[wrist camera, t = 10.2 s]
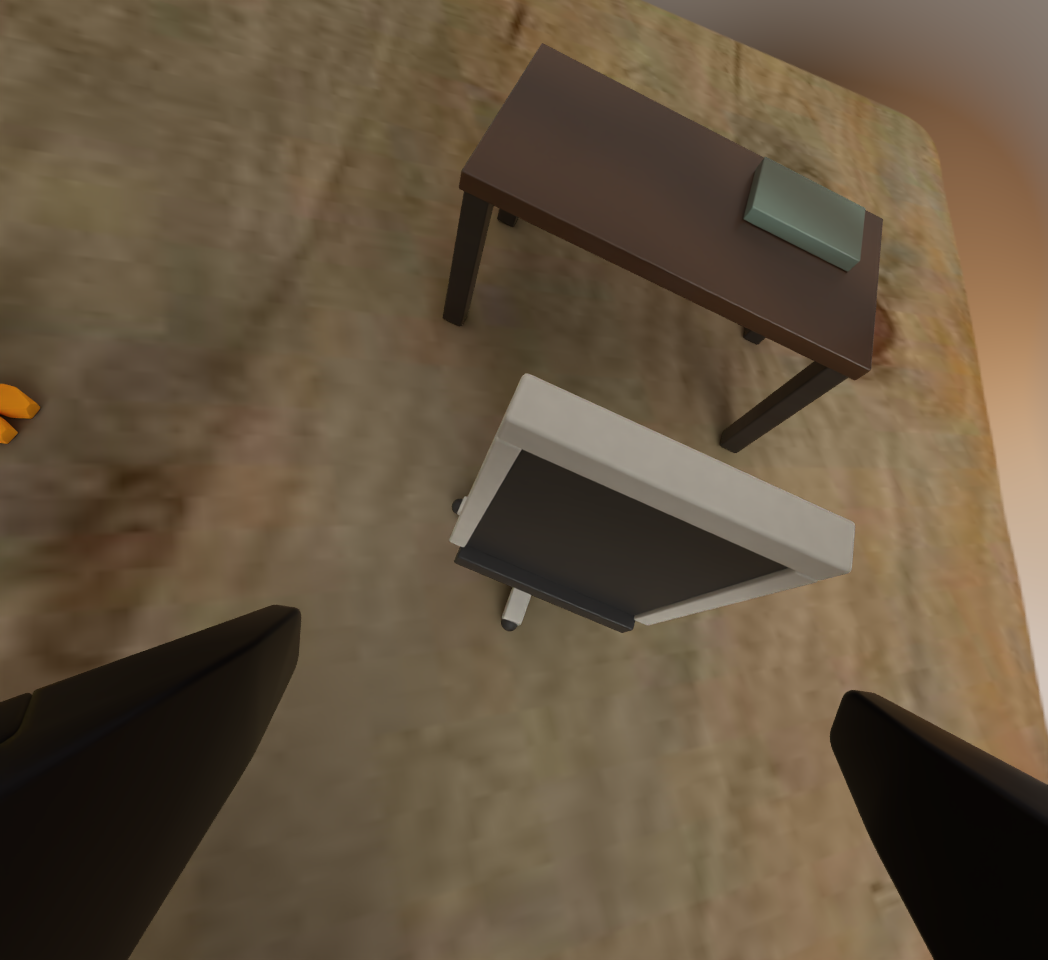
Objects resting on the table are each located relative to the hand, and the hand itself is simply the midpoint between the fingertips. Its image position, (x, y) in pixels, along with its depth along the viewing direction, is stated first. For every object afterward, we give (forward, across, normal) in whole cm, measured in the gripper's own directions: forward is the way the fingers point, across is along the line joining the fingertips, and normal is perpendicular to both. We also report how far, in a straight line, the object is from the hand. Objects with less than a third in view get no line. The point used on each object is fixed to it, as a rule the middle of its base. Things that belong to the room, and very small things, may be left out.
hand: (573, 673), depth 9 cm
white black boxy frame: (+12, 0, +2) cm, 12 cm away
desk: (+19, -3, -6) cm, 21 cm away
